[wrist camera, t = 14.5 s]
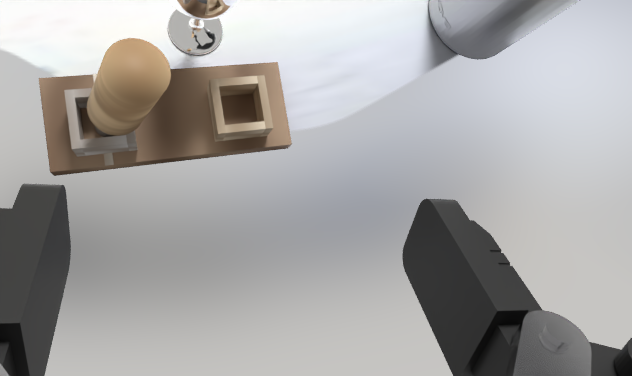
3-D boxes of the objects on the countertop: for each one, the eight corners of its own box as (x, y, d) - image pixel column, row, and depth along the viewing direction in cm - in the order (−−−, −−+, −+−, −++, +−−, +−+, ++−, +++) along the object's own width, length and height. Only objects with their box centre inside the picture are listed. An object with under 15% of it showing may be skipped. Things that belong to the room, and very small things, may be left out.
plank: (273, 68, 46) (283, 50, 42) (287, 148, 45) (299, 136, 41) (43, 85, 40) (30, 65, 36) (54, 175, 40) (42, 165, 36)
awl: (128, 103, 41) (166, 39, 30) (134, 149, 40) (174, 101, 30) (77, 103, 39) (98, 36, 28) (82, 151, 38) (106, 101, 28)
